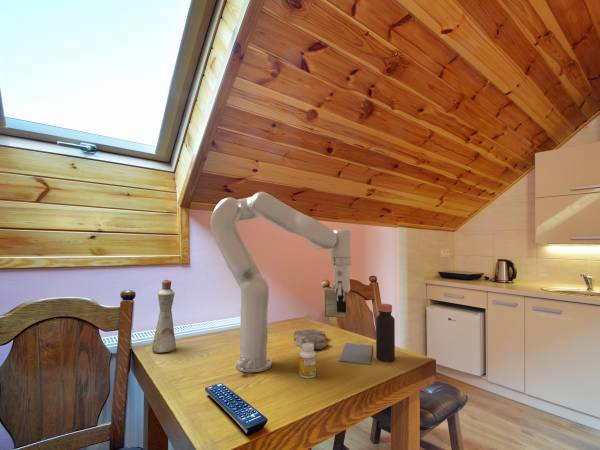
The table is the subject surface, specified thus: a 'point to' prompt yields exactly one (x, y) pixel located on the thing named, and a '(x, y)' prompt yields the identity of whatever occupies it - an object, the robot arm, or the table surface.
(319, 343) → the grey rock
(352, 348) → the mat
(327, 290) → the slab
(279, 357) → the table surface
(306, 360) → the supplement bottle
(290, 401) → the table surface
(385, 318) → the vinegar
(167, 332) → the bottle
